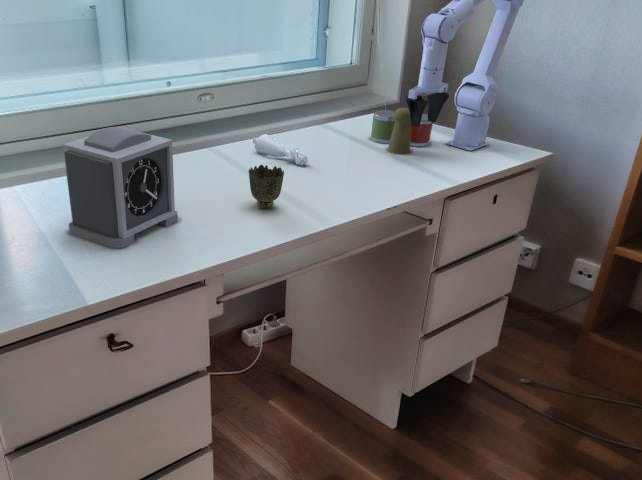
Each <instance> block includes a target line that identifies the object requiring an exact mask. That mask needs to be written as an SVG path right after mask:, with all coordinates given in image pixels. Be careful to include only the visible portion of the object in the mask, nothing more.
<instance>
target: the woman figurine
mask: <svg viewBox="0 0 642 480" xmlns="http://www.w3.org/2000/svg"><path fill="white" fill-rule="evenodd" d="M252 143H253V144H254V149H255V152H257V153H258V154H261V155H266V156H265V158H267V159H278V160H284V161H285V160H286V161H289V162H295V164H296V165H298V166H305V165H307V164H308V162H309V159H308V156H307V155H306V154H302V153H300V152H299V147H297V146H296V147H295V148H292V150H290V149H288V148H287V147H286V146H285V145H284V144H283V143H281V142H280V141H278V140H277V139H275V138H274V137H273V136H271V135H269V134H267V133H264V134H259V135H258V137H257V138H256V135H255V136H253V137H252ZM299 153H300V154H299Z"/></svg>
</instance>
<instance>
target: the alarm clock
mask: <svg viewBox="0 0 642 480" xmlns="http://www.w3.org/2000/svg"><path fill="white" fill-rule="evenodd" d="M62 150H63V158H64V166H65V174H66V183H67V191H68V198H69V205H70V206H69V207H70V214H71V221H70V222H69V223H68V229H69V230H68V231H69V233H70V235H73V236H76V237H78V238H82V239H84V240H88V241H91V242H94V243H96V244H98V245H99V244H100V245H102V246H105V247H108V248H111V249H114V250H120V249H124V248H126V247H128V246H130V245H132V244H134V243H135V242H136V240H135V235H136V234H137V233H140V232H142V231H144V230H146V229H148V228H150V227H152V226H154V225H161V226H163V227H169V226H171V225H173V224H175V223H176V222H178V221H179V213H178V211H177V210H175V208H176V207H175V181H174V180H175V178H174V156H173V155H174V153H173V139H170V138H166V137H162V136H158V135H155V134H154V135H153V134H149V133H146V132H142V131H137V130H133V129H129V128H126V127H120V126H110V127H109V126H108V127H104V128H102V129H99V130H97V131H95V132H93V133H91V134H90V135H88V136H85V137H81V138H79V139H75V140H71V141H69V142H66V143H62Z"/></svg>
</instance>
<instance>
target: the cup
mask: <svg viewBox="0 0 642 480" xmlns="http://www.w3.org/2000/svg"><path fill="white" fill-rule="evenodd" d="M284 175H285V171H284V169H282V167H281V166H279V167H277V166H276V165H274V166H273V167H272V168H269V167H268V165H267V164H266V165H265V166H264V165H263V164H259V166H258V167H257V165H255V166H254V167H250V168H248V178H249V189H250V193H251V196H252V197H253V199H255V200H256V205H257V207H258V208H260V209H265V210H267V209H272V208H273V207H274V205H275V204H274V201H276V200H277V199H279V197H280V195H281V191H282V187H283V182H284Z"/></svg>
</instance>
